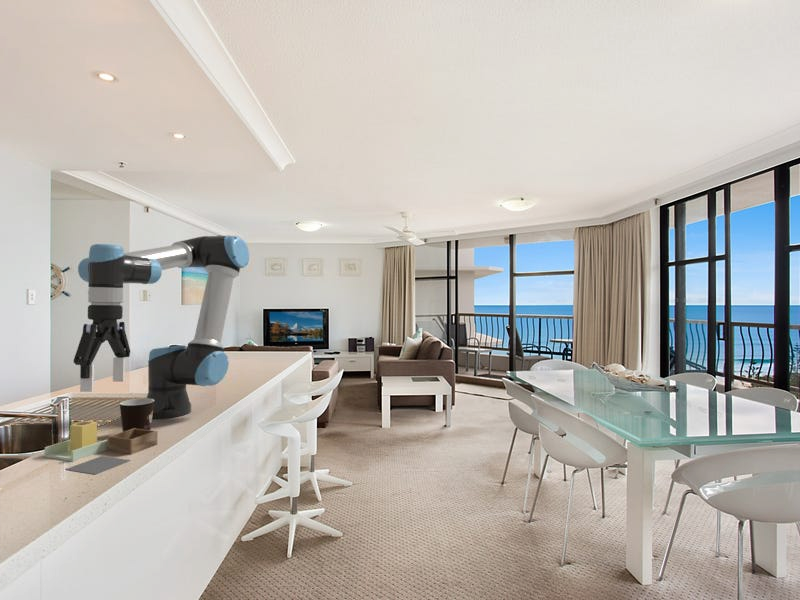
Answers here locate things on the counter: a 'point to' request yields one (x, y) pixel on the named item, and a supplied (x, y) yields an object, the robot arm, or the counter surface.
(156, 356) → the robot arm
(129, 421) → the coffee mug
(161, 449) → the counter surface
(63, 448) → the sage tray
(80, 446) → the yellow block
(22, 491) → the counter surface
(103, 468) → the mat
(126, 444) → the walnut box
